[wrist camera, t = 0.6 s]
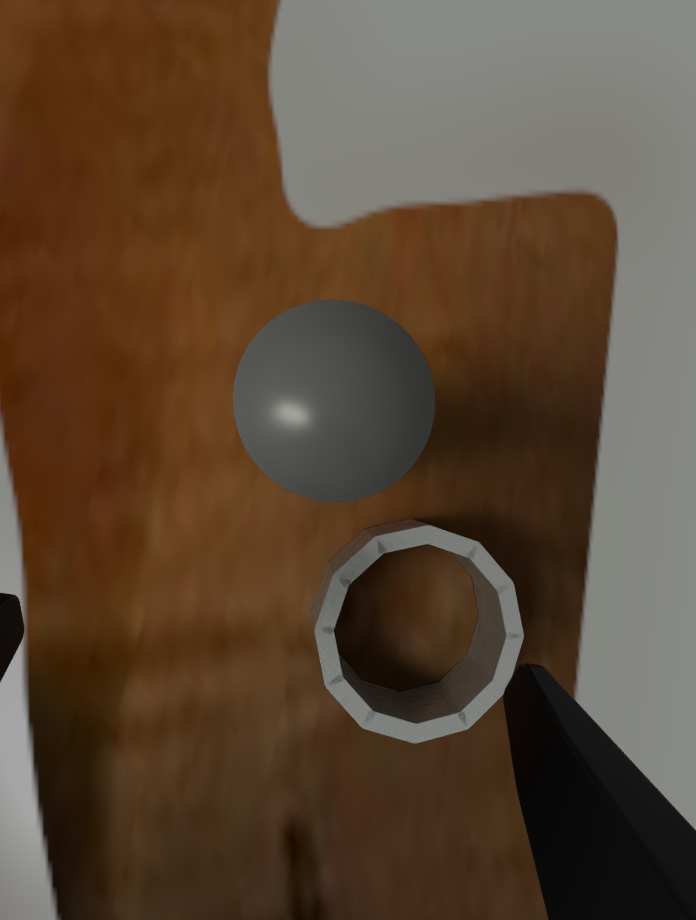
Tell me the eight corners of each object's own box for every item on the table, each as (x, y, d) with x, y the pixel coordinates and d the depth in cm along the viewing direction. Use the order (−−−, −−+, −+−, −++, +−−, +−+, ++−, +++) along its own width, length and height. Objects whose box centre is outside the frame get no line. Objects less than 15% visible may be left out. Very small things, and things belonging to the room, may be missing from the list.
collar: (396, 744, 23) (412, 784, 20) (275, 608, 22) (273, 628, 19) (526, 617, 24) (560, 637, 21) (413, 484, 23) (431, 485, 20)
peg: (306, 506, 23) (326, 544, 10) (247, 438, 23) (188, 386, 10) (373, 448, 23) (474, 412, 10) (315, 381, 23) (346, 260, 10)
